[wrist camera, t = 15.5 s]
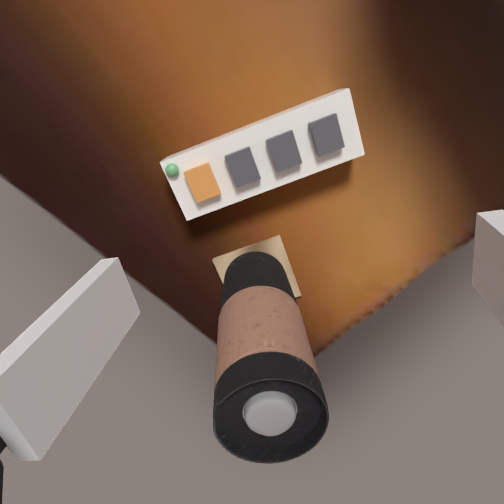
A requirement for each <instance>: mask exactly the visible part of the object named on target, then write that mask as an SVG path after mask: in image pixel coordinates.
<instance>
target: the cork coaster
mask: <svg viewBox="0 0 504 504" xmlns="http://www.w3.org/2000/svg"><path fill="white" fill-rule="evenodd" d="M253 251H259V252H264V253H268V254H270V255H272V256H273V257H275V258H276V259H277V260H278V261H279V262H280V263H281V264H282V266H283V268H284V270H285V272H286V275H287V277H288V280H289V283H290V285H291V288H292V291H293V294H294V296H295V298H296V297H299V296H301V293H300V290H299V287H298V285H297V282H296V279H295V276H294V274H293V271H292V268H291V265H290V263H289V260H288V257H287V254H286V251H285V249H284V246H283V243H282V240H281V238H280V235H277V236H274V237H271V238H268V239H266V240H263V241H260V242H257V243H254V244H252V245H249V246H246V247H243V248H240V249H238V250H235V251H232V252H229V253H227V254H224V255H221V256H218V257H215V258H213V260H212V261H213V263H214V265H215V267H216V270H217V272H218V274H219V276H220V278H221V280H222V283H224V277H225V273H226V270H227V268H228V266H229V265H230V263H231V262H232V261H233V260H234V259H235V258H236V257H238V256H240V255H242V254H244V253H247V252H253Z"/></svg>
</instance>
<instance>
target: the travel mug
mask: <svg viewBox="0 0 504 504" xmlns="http://www.w3.org/2000/svg"><path fill="white" fill-rule="evenodd" d="M328 421H329V413H328V407H327V402H326V399H325V396H324V392H323V389H322V385H321V382H320V378H319V375H318V372H317V368H316V365H315V361H314V358H313V354H312V351H311V347H310V344H309V341H308V337H307V334H306V330H305V327H304V323H303V320H302V316H301V313H300V310H299V307H298V304H297V302H296V299H295V296H294V294H293V291H292V288H291V285H290V283H289V280H288V277H287V275H286V272H285V270H284V268H283V266H282V264H281V263H280V262H279V261H278V260H277V259H276V258H275V257H273V256H272V255H270V254H268V253H264V252H259V251H253V252H247V253H244V254H242V255H240V256H238V257H236V258H235V259H234V260H233V261H232V262H231V263H230V265H229V266H228V268H227V270H226V273H225V277H224V283H223V290H222V298H221V305H220V313H219V322H218V339H217V357H216V374H215V390H214V408H213V430H214V434H215V436H216V438H217V440H218V441H219V443H220V444H221V445H222V446H223V447H224V448H225V449H226V450H227V451H228V452H230V453H231V454H233V455H235V456H236V457H238V458H241V459H243V460H246V461H250V462H255V463H279V462H284V461H288V460H292V459H294V458H297V457H299V456H301V455H303V454H305V453H306V452H308V451H310V450H311V449H312V448H313V447H315V446H316V445H317V444H318V443H319V441H320V440H321V439H322V437H323V435H324V434H325V432H326V429H327V426H328Z"/></svg>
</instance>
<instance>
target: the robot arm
mask: <svg viewBox="0 0 504 504" xmlns="http://www.w3.org/2000/svg"><path fill="white" fill-rule="evenodd" d="M471 285H472V286H473V287H474V288H475V290H476V291H477V292H478V293H479V295H480V296H481V298H482V299H483V300H484V302H485V303H486V304H487V305H488V307H489V308H490V309H491V311H492V312H493V313H494V314H495V316H496V317H497V318H498V320H499V321H500V322H501V324H502V325H503V326H504V210H495V211H487V212H479V213H477V217H476V229H475V241H474V254H473V266H472V278H471ZM139 314H140V310H139V308H138V305H137V303H136V301H135V298H134V296H133V293H132V290H131V288H130V286H129V283H128V281H127V278H126V276H125V273H124V271H123V268H122V266H121V263H120V261H119V258H118V257H117V258H109V259H101V260H100V261H99V262H98V263H97V264H96V265H95V266H94V267H93V268H92V269H91V270H90V271H89V272H87V273H86V274H85V275H84V276H83V277H82V278H81V279H80V280H79V281H78V282H77V283H76V284H75V285H73V287H71V288H70V289H69V290H68V291H67V292H66V293H65V294H64V295H63V296H62V297H61V298H60V299H59V300H57V301H56V302H55V303H54V304H53V305H52V306H51V307H50V308H49V309H48V310H47V311H46V312H45V313H44V314H42V315H41V316H40V317H39V318H38V319H37V320H36V321H35V322H34V323H33V324H32V325H31V326H30V327H29V328H27V329H26V330H25V331H24V332H23V333H22V334H21V335H20V336H19V337H18V338H17V339H15V340H14V341H13V342H12V343H11V344H10V345H9V346H8V347H7V348H6V349H5V350H4V351H3V352H2V353H1V354H0V453H1V452H2V451H3V449H4V448H5V447H6V446H7V447H8V449H9V450H10V451H11V453H12V454H13V455H14V457H15V458H16V459H17V460H41V459H42V458H43V456H44V455H45V453H46V452H47V450H48V449H49V447H50V446H51V444H52V443H53V441H54V440H55V439H56V437H57V436H58V434H59V433H60V431H61V430H62V428H63V427H64V425H65V424H66V422H67V421H68V419H69V418H70V416H71V415H72V413H73V412H74V410H75V409H76V407H77V406H78V404H79V403H80V401H81V400H82V398H83V397H84V396H85V394H86V393H87V391H88V390H89V388H90V387H91V385H92V384H93V382H94V381H95V379H96V378H97V376H98V375H99V373H100V372H101V371H102V369H103V367H104V366H105V365H106V363H107V362H108V360H109V359H110V357H111V356H112V354H113V353H114V351H115V350H116V348H117V347H118V345H119V344H120V342H121V341H122V339H123V338H124V336H125V335H126V333H127V332H128V331H129V329H130V328H131V326H132V325H133V323H134V322H135V320H136V318H137V317H138V316H139ZM3 468H4V467H3V464H2V461H1V460H0V504H2V489H3Z"/></svg>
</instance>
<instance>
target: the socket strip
mask: <svg viewBox="0 0 504 504" xmlns="http://www.w3.org/2000/svg"><path fill="white" fill-rule="evenodd" d="M362 155H365V153H364V149H363V145H362V140H361V136H360V132H359V127H358V123H357V119H356V115H355V110H354V106H353V102H352V97H351V93H350V89H349V88H344V89H337V90H335V91H332V92H330V93H327V94H325V95H322V96H320V97H317V98H315V99H312V100H310V101H307V102H304V103H302V104H299V105H297V106H294V107H292V108H289V109H287V110H284V111H282V112H279V113H277V114H274V115H272V116H269V117H266V118H264V119H261V120H259V121H256V122H254V123H251V124H249V125H246V126H244V127H241V128H239V129H236V130H234V131H231V132H228V133H226V134H223V135H221V136H218V137H216V138H213V139H211V140H208V141H206V142H203V143H201V144H198V145H196V146H193V147H190V148H188V149H185V150H183V151H180V152H178V153H175V154H173V155H170V156H168V157H166V158H165V159H163V160H162V161H161V162H160V164H161V166H162V169H163V171H164V173H165V175H166V177H167V179H168V181H169V184H170V186H171V188H172V190H173V192H174V194H175V196H176V199H177V201H178V203H179V205H180V207H181V209H182V211H183V214H184V216H185V218H186V220H187V221H188V220H191V219H193V218H196V217H199V216H202V215H204V214H207V213H210V212H212V211H215V210H218V209H220V208H223V207H226V206H228V205H231V204H234V203H236V202H239V201H242V200H244V199H247V198H250V197H252V196H255V195H258V194H260V193H263V192H266V191H268V190H271V189H274V188H277V187H279V186H282V185H285V184H287V183H290V182H293V181H295V180H298V179H301V178H303V177H306V176H309V175H311V174H314V173H317V172H319V171H322V170H325V169H327V168H330V167H333V166H335V165H338V164H341V163H343V162H346V161H349V160H351V159H354V158H357V157H360V156H362Z"/></svg>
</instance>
